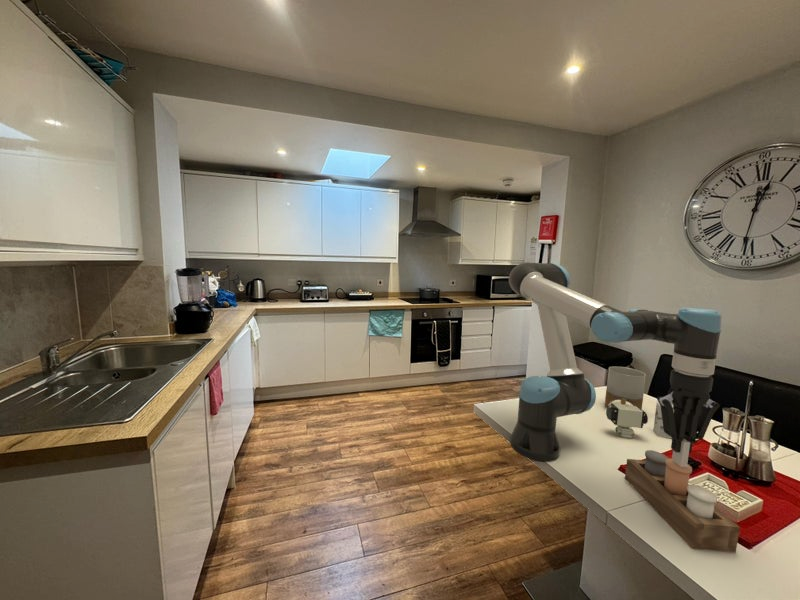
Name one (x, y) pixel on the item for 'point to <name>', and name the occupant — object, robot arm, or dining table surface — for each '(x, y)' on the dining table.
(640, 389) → the planter
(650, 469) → the plug charcoal
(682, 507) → the socket block
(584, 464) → the dining table surface
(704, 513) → the plug white
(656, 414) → the ink box
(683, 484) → the plug terracotta
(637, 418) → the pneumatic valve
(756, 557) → the dining table surface
